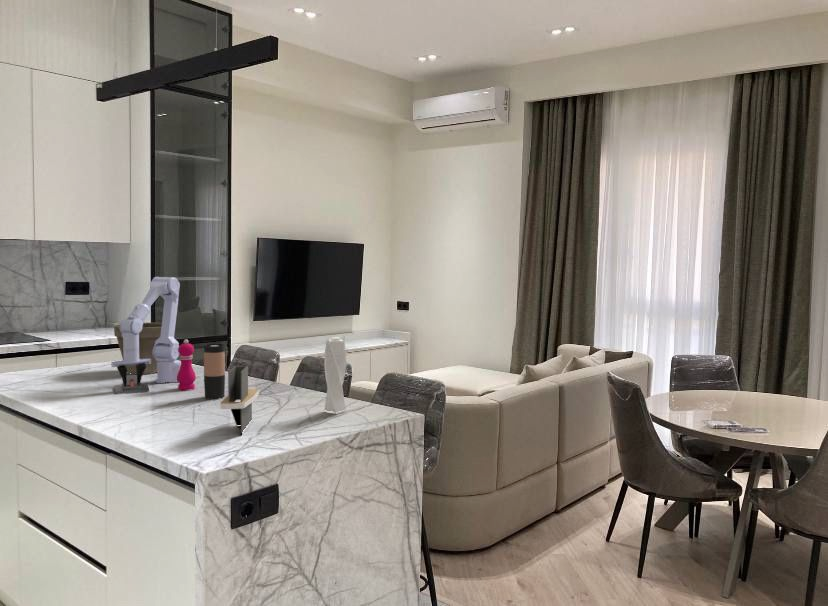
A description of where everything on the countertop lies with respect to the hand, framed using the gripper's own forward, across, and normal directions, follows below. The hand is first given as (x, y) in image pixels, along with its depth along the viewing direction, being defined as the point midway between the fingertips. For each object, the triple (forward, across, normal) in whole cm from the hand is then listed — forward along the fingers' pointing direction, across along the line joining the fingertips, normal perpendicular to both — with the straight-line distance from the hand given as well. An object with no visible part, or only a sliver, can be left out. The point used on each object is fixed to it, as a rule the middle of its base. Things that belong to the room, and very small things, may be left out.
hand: (131, 383), depth 265 cm
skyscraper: (+3, -44, +78) cm, 90 cm away
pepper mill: (+3, -18, +10) cm, 21 cm away
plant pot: (+3, -17, -38) cm, 42 cm away
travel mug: (+3, -21, +31) cm, 38 cm away
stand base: (+3, 0, 0) cm, 3 cm away
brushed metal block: (+1, 0, 0) cm, 1 cm away
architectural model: (+3, -8, +79) cm, 79 cm away
